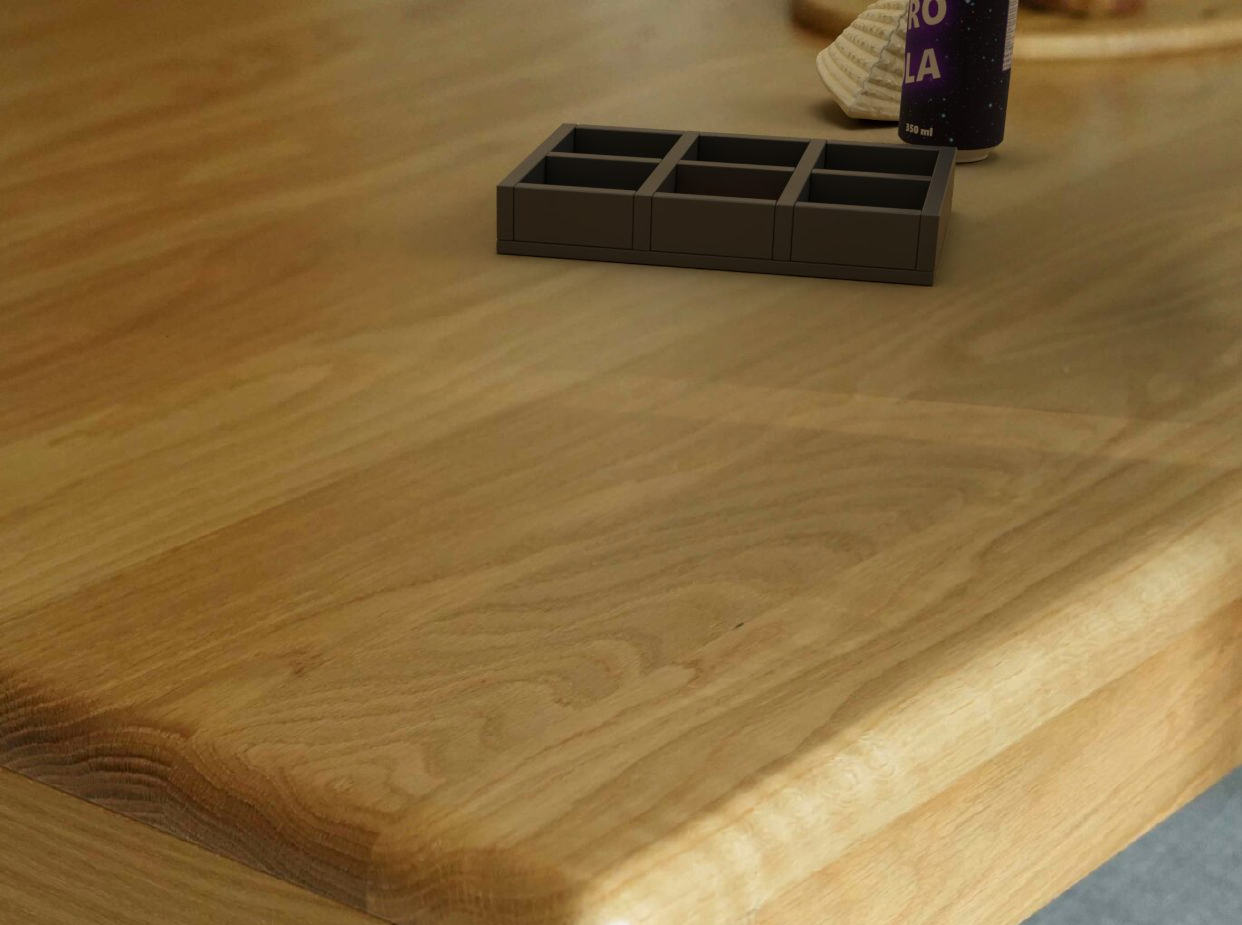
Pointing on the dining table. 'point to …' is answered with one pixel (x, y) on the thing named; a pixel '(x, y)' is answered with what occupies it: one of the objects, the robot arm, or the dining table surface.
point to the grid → (731, 202)
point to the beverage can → (957, 74)
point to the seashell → (868, 62)
